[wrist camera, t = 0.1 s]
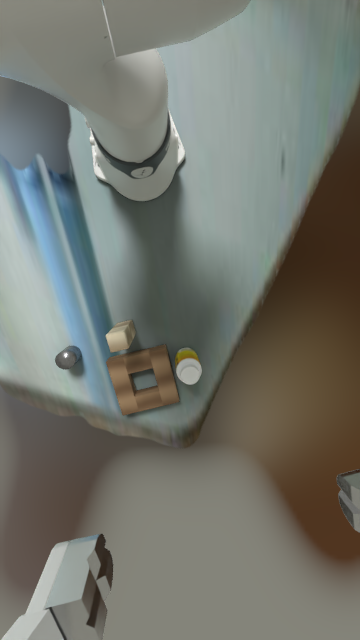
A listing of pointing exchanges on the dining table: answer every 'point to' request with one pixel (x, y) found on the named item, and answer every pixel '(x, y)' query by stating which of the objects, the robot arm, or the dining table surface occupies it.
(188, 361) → the supplement bottle
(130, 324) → the long pin
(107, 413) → the dining table surface
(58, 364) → the short pin
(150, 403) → the hole plate
